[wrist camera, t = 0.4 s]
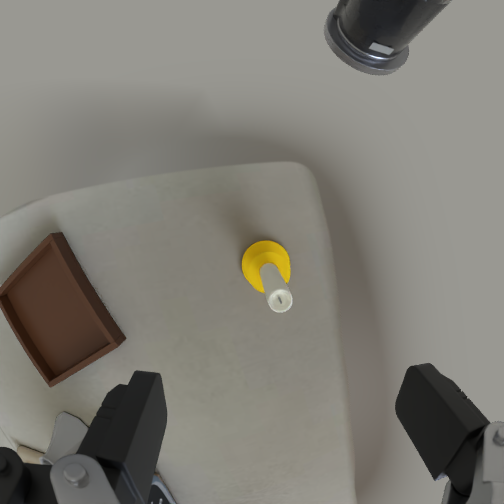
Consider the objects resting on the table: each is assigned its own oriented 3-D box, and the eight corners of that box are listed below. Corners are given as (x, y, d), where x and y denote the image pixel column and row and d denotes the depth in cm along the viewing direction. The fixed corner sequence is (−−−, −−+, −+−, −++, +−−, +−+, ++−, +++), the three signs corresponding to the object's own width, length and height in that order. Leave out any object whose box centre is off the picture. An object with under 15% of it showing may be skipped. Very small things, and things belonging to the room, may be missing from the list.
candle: (235, 249, 32) (223, 276, 17) (280, 233, 32) (310, 246, 17) (250, 294, 33) (253, 355, 18) (295, 278, 33) (334, 327, 17)
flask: (54, 427, 35) (26, 460, 25) (60, 404, 35) (29, 438, 25) (88, 451, 36) (65, 488, 26) (98, 430, 35) (72, 470, 25)
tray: (4, 291, 33) (-7, 294, 30) (62, 231, 32) (50, 233, 29) (58, 380, 34) (50, 388, 32) (126, 338, 33) (118, 346, 31)
